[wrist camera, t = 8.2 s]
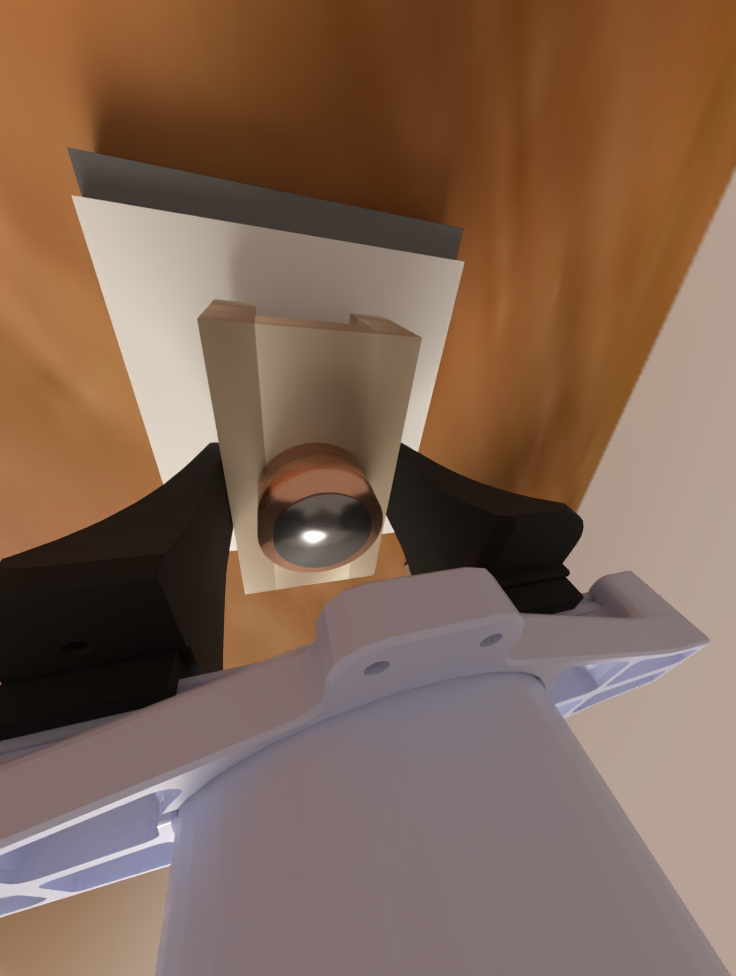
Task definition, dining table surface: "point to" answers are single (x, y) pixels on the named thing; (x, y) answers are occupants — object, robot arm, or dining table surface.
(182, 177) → the dock
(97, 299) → the dining table surface
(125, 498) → the dining table surface
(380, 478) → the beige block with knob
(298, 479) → the drum
